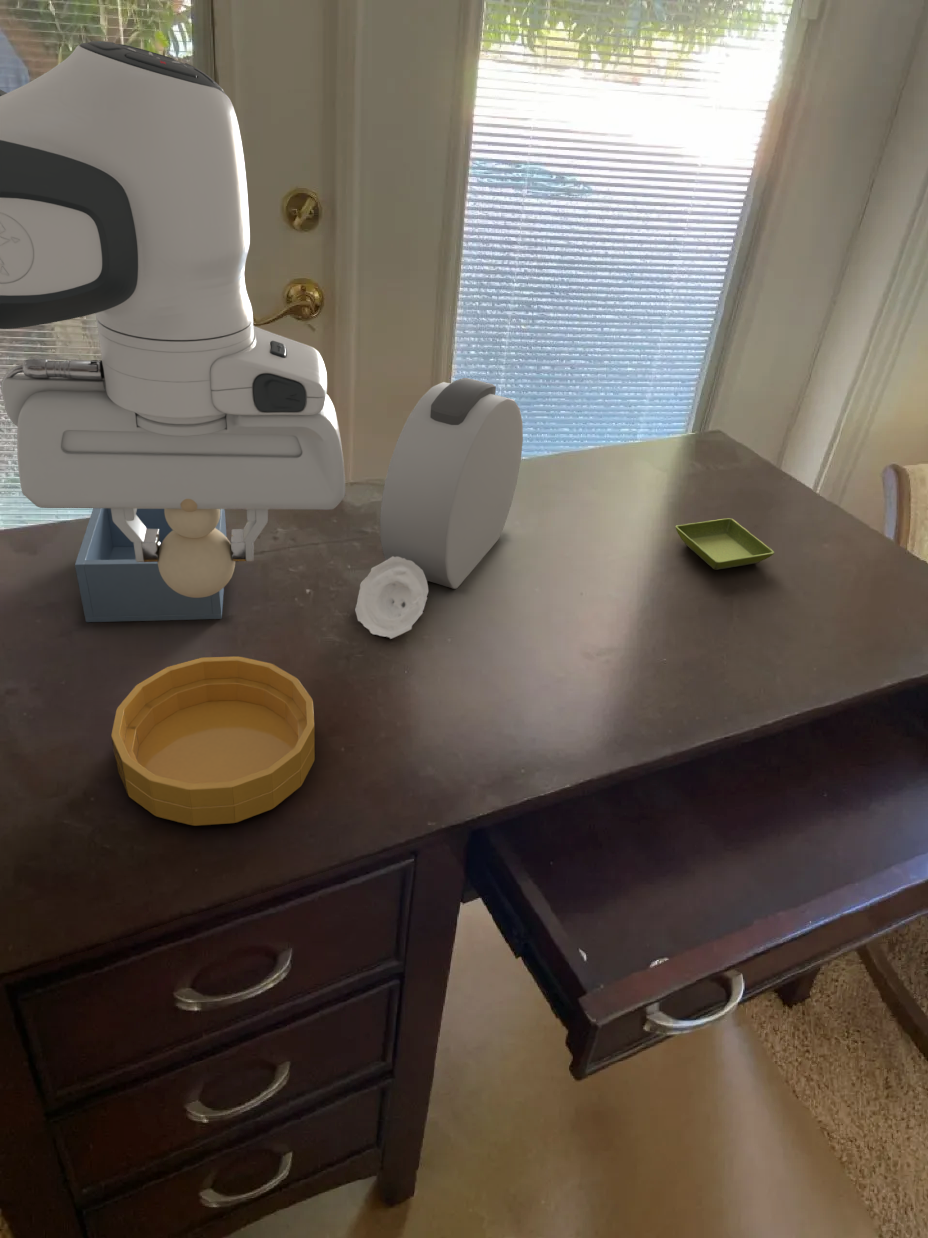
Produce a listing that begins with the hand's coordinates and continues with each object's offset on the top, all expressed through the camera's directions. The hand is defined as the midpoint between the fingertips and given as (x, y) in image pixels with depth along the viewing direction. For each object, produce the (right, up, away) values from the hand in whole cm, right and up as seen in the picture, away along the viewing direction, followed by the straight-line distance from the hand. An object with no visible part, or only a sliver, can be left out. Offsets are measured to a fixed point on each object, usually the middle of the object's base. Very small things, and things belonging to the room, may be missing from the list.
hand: (197, 557), depth 62 cm
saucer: (+49, +3, +45) cm, 67 cm away
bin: (-13, 0, +30) cm, 32 cm away
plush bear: (0, -2, +2) cm, 3 cm away
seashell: (+11, -5, +28) cm, 30 cm away
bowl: (-1, -16, +11) cm, 19 cm away
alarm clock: (+17, +3, +40) cm, 43 cm away
